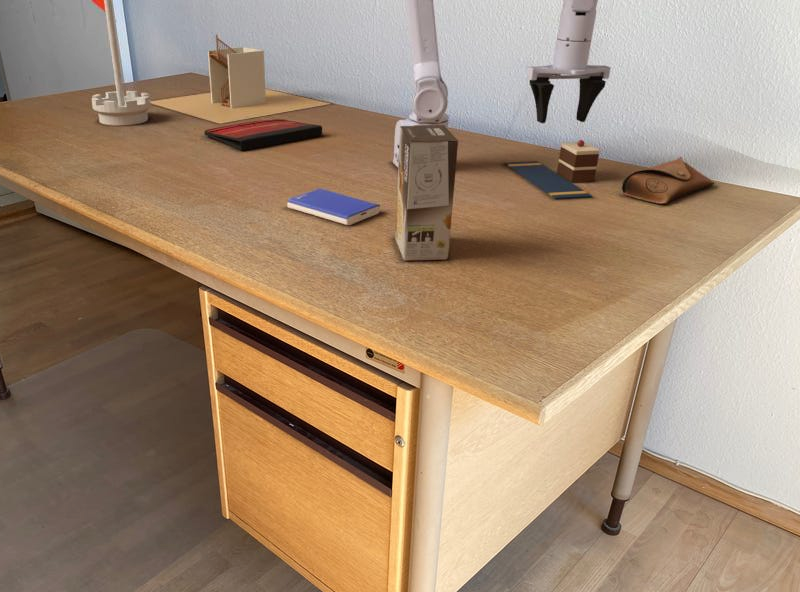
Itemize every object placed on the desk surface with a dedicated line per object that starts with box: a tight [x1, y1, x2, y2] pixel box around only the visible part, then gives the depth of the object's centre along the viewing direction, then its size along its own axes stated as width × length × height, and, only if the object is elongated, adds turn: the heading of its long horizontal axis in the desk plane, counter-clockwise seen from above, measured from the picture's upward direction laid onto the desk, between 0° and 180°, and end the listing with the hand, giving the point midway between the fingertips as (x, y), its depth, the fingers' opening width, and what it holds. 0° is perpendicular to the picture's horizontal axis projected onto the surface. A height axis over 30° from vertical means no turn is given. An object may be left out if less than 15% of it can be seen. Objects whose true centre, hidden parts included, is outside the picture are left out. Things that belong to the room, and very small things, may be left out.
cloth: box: [504, 160, 592, 200], centre depth 134 cm, size 6×22×1 cm, turn 11°
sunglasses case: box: [621, 156, 716, 205], centre depth 128 cm, size 18×7×7 cm
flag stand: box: [91, 0, 152, 126], centre depth 165 cm, size 13×13×30 cm
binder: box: [203, 118, 323, 152], centre depth 160 cm, size 16×2×21 cm
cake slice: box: [556, 139, 601, 184], centre depth 133 cm, size 4×6×7 cm
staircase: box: [207, 34, 267, 109], centre depth 187 cm, size 9×11×17 cm
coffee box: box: [394, 125, 459, 262], centre depth 100 cm, size 9×6×16 cm
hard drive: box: [287, 188, 381, 226], centre depth 117 cm, size 2×8×12 cm
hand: (560, 121), depth 133 cm, fingers open, 7 cm apart
